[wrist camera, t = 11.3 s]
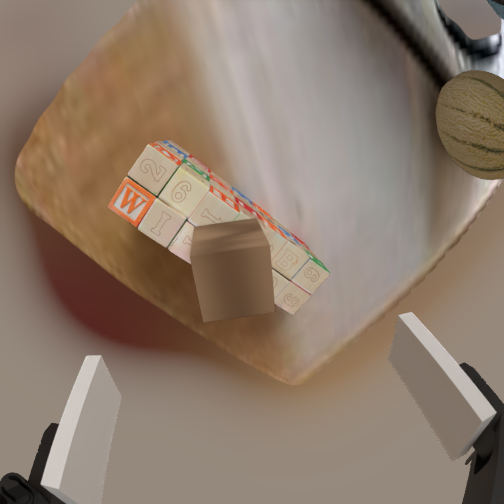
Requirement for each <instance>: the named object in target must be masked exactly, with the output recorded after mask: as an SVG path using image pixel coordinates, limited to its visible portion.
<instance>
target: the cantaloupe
mask: <svg viewBox="0 0 504 504" xmlns="http://www.w3.org/2000/svg"><path fill="white" fill-rule="evenodd" d="M435 113H436V122H437V130H438V134H439V137H440V139H441V141H442V144H443V145H444V147H445V148H446V150H447V152H448V154H449V155H450V157H451V158H452V159H453V160H454V161H455V162H456V163H457V164H458V166H460V167H461V168H462V169H463V170H465V171H466V172H468V173H469V174H471V175H473V176H476V177H478V178H481V179H486V180H495V179H503V178H504V79H502V78H501V77H499V76H497V75H494V74H492V73H489V72H486V71H479V70H470V71H467V72H462V73H461V74H459V75H457V76H455V77H454V78H452V79H451V80H450V81H448V82H447V83H446V84H445V85H444V86H443V87H442V89H441V91H440V94H439V97H438V100H437V105H436V111H435Z"/></svg>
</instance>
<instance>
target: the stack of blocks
mask: <svg viewBox="0 0 504 504" xmlns="http://www.w3.org/2000/svg"><path fill="white" fill-rule="evenodd" d="M108 208H110V209H111V210H112V211H114V212H115V213H117V214H118V215H120V216H121V217H122V218H124V219H125V220H127V221H128V222H130V223H131V224H132V225H134V226H136V227H138V230H139V231H141V232H142V233H144V234H145V235H147V236H148V237H150V238H151V239H153V240H154V241H156V242H157V243H159V244H161V245H162V246H164V247H166V248H168V250H169V251H170V252H172V253H173V254H175V255H177V256H178V257H180V258H181V259H183V260H184V261H186V262H188V263H189V264H191V260H190V251H191V244H192V238H193V231H194V227H195V226H202V225H209V224H216V223H223V222H230V221H238V220H245V219H252V218H257V220H258V222H259V224H260V226H261V228H262V230H263V232H264V234H265V236H266V238H267V240H268V242H269V244H270V251H271V263H272V275H273V288H274V301H275V304H276V305H277V306H279V307H280V308H282V309H283V310H285V311H287V312H288V313H290V314H291V315H293V314H294V313H295V312H296V311H297V310H298V309H299V308H300V307H301V306H302V305H303V304H304V303H305V302H306V300H307V299H308V298H309V297H310V296H311V294H312V293H313V292H314V291H315V290H316V289H317V288H318V287H319V286H320V285H321V283H322V282H323V281H324V280H325V279H326V278H327V277H328V276H329V274H330V272H329V271H328V270H327V268H326V267H325V266H324V265H323V263H322V262H321V261H319V260H318V259H317V257H316V256H315V255H314V254H313V253H312V252H311V251H310V249H309V248H308V247H307V246H306V244H305V243H303V242H302V241H301V240H299V239H298V238H297V237H296V236H294V235H293V234H292V233H290V232H289V230H288V229H287V228H285V227H284V226H283V225H282V224H280V223H279V222H278V221H276V220H275V219H274V218H273V217H271V216H270V215H269V214H268V213H266V212H265V211H264V210H263V209H261V208H260V207H259V206H257V205H256V204H255V203H254V202H252V201H250V200H249V199H247V198H246V197H245V196H243V195H242V194H241V193H240V192H238V191H237V190H236V189H234V188H233V187H232V186H230V185H229V184H228V183H226V182H225V181H224V180H222V179H221V178H220V177H218V176H217V175H216V174H214V173H213V172H212V171H211V170H210V169H209V168H207V167H206V166H205V165H203V164H202V163H201V162H199V161H198V160H197V159H195V158H194V157H193V156H191V155H190V154H189V153H188V152H186V151H185V150H184V149H182V148H181V147H180V146H178V145H177V144H176V143H174V142H173V141H172V140H166V141H156V142H154V143H151V144H148V145H147V147H146V148H145V149H144V151H143V152H142V154H141V155H140V157H139V158H138V159H137V161H136V162H135V164H134V165H133V167H132V168H131V170H130V171H129V173H128V176H127V177H126V178H125V179H124V181H123V182H122V184H121V185H120V187H119V189H118V190H117V192H116V193H115V195H114V197H113V198H112V200H111V202H110V203H109V205H108Z"/></svg>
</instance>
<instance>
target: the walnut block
mask: <svg viewBox="0 0 504 504" xmlns="http://www.w3.org/2000/svg"><path fill="white" fill-rule="evenodd" d="M190 260H191V266H192V271H193V276H194V280H195V285H196V290H197V295H198V299H199V304H200V309H201V313H202V318H203V322H211V321H218V320H225V319H232V318H239V317H246V316H252V315H259V314H265V313H271V312H275V301H274V288H273V275H272V263H271V251H270V244H269V242H268V240H267V238H266V236H265V234H264V232H263V230H262V228H261V226H260V224H259V222H258V220H257V218H252V219H245V220H238V221H230V222H223V223H216V224H209V225H202V226H195V227H194V231H193V238H192V244H191V251H190Z"/></svg>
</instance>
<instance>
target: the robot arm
mask: <svg viewBox="0 0 504 504" xmlns="http://www.w3.org/2000/svg"><path fill="white" fill-rule="evenodd" d="M487 1H488V3H489V4H490V5H491V7H492V8H493V9H494V11H495V12H496V13H497V15H499V17H501V18H502V19H504V0H487ZM388 360H389V362H390V363H391V365H392V366H393V368H394V369H395V371H396V372H397V374H398V375H399V377H400V378H401V380H402V381H403V383H404V385H405V386H406V387H407V389H408V391H409V392H410V394H411V395H412V397H413V399H414V400H415V402H416V403H417V405H418V406H419V408H420V410H421V411H422V413H423V415H424V416H425V418H426V419H427V421H428V423H429V424H430V426H431V428H432V429H433V431H434V432H435V434H436V436H437V437H438V439H439V441H440V442H441V444H442V446H443V447H444V449H445V451H446V453H447V454H448V456H449V458H450V459H451V461H454V460H456V459H458V458H459V457H461V456H463V455H464V454H466V453H467V451H469V449H470V448H471V447H472V446H473V447H474V449H475V451H474V452H473V453H472V454H471V456H470V457H469V458H468V459H467V460H466V463H465V465H467V464H468V463H469V462H470V461H471V460H472V462H471V464H470V465H471V467H470V472H469V478H468V481H467V486H466V490H465V494H464V498H463V502H462V504H504V404H503V403H502V401H501V400H500V399H499V398H498V396H497V395H496V394H495V393H494V392H493V390H492V389H491V388H490V387H489V386H488V385H487V384H486V382H485V381H484V379H483V378H481V376H480V375H479V374H478V372H477V371H476V370H475V369H474V368H473V367H471V366H469V365H468V364H466V363H462V364H460V365H458V364H457V363H456V361H455V360H454V359H453V358H452V357H451V355H450V354H449V353H448V352H447V351H446V350H445V349H444V347H443V346H442V345H441V344H440V343H439V342H438V340H437V339H436V338H435V337H434V336H433V335H432V334H431V333H430V331H429V330H428V329H427V328H426V327H425V326H424V325H423V324H422V323H421V322H420V320H419V319H418V318H417V317H416V316H415V315H414V314H413V313H412V312H410V313H405V314H401V315H398V319H397V324H396V328H395V333H394V337H393V342H392V346H391V350H390V354H389V358H388ZM121 399H122V397H121V395H120V393H119V391H118V389H117V387H116V385H115V383H114V381H113V379H112V377H111V375H110V373H109V371H108V369H107V367H106V365H105V363H104V361H103V359H102V357H101V355H100V356H86V358H85V360H84V362H83V365H82V367H81V370H80V372H79V374H78V377H77V379H76V382H75V384H74V386H73V389H72V392H71V394H70V397H69V399H68V402H67V404H66V407H65V410H64V413H63V415H62V418H61V421H60V424H56V423H51V424H50V426H49V427H48V428H47V429H46V430H45V432H44V434H43V437H42V440H41V444H40V445H39V449H38V453H37V454H36V457H35V460H34V464H33V467H32V470H31V473H30V476H29V480H28V481H27V480H25V479H24V478H23V477H22V476H21V475H19V474H18V473H13V472H12V473H8V474H6V475H5V476H3V478H2V479H1V481H0V504H101V500H102V493H103V487H104V481H105V475H106V469H107V464H108V458H109V453H110V448H111V443H112V438H113V433H114V429H115V424H116V420H117V415H118V411H119V407H120V403H121Z"/></svg>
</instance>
